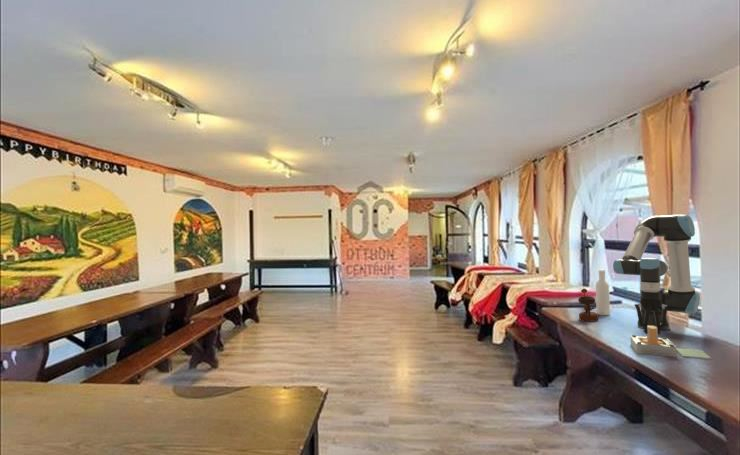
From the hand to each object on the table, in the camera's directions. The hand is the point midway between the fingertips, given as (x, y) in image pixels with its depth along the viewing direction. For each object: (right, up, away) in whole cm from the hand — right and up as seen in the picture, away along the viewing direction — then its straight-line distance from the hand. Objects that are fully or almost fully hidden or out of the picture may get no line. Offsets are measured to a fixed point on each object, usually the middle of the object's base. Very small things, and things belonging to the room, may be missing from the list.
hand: (652, 340), depth 184 cm
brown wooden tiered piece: (+5, -6, +63) cm, 63 cm away
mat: (+14, -4, -6) cm, 16 cm away
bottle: (+23, -5, +78) cm, 81 cm away
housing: (0, -5, 0) cm, 5 cm away
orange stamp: (0, -4, 0) cm, 4 cm away
